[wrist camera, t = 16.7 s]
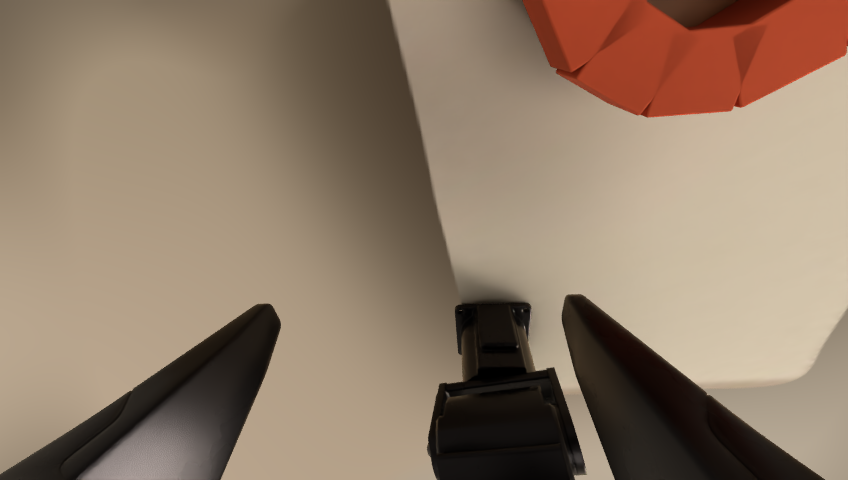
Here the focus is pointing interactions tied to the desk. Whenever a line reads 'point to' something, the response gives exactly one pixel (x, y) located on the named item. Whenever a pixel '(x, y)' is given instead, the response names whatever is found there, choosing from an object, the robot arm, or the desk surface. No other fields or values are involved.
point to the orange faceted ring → (687, 50)
